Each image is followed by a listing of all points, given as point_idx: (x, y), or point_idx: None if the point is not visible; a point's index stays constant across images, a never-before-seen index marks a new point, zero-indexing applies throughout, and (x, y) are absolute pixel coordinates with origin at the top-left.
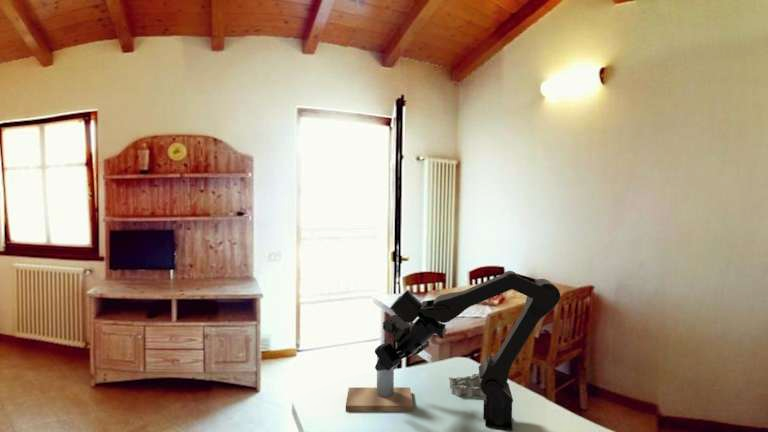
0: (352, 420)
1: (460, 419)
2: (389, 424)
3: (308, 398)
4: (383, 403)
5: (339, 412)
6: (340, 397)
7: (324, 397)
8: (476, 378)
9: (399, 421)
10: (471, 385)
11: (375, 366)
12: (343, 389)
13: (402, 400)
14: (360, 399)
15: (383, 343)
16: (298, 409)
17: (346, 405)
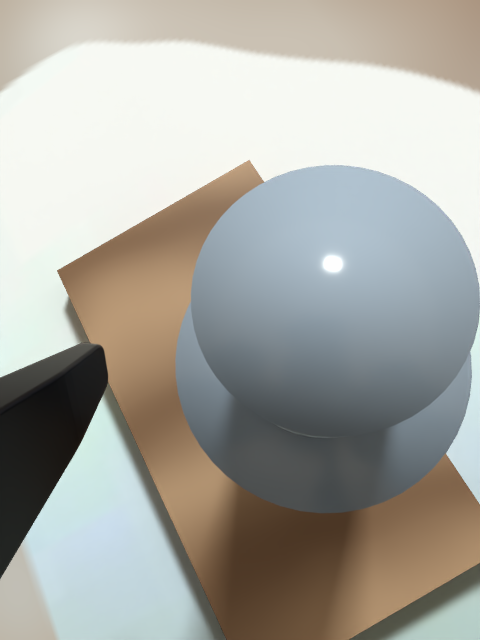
0: (10, 365)
1: None
2: (50, 585)
3: (103, 59)
4: (177, 465)
5: (51, 262)
6: (184, 174)
7: (145, 110)
8: None
9: (102, 633)
10: None
11: (63, 352)
12: (269, 133)
13: (280, 578)
14: (153, 304)
15: (371, 196)
16: (2, 91)
17: (59, 273)
